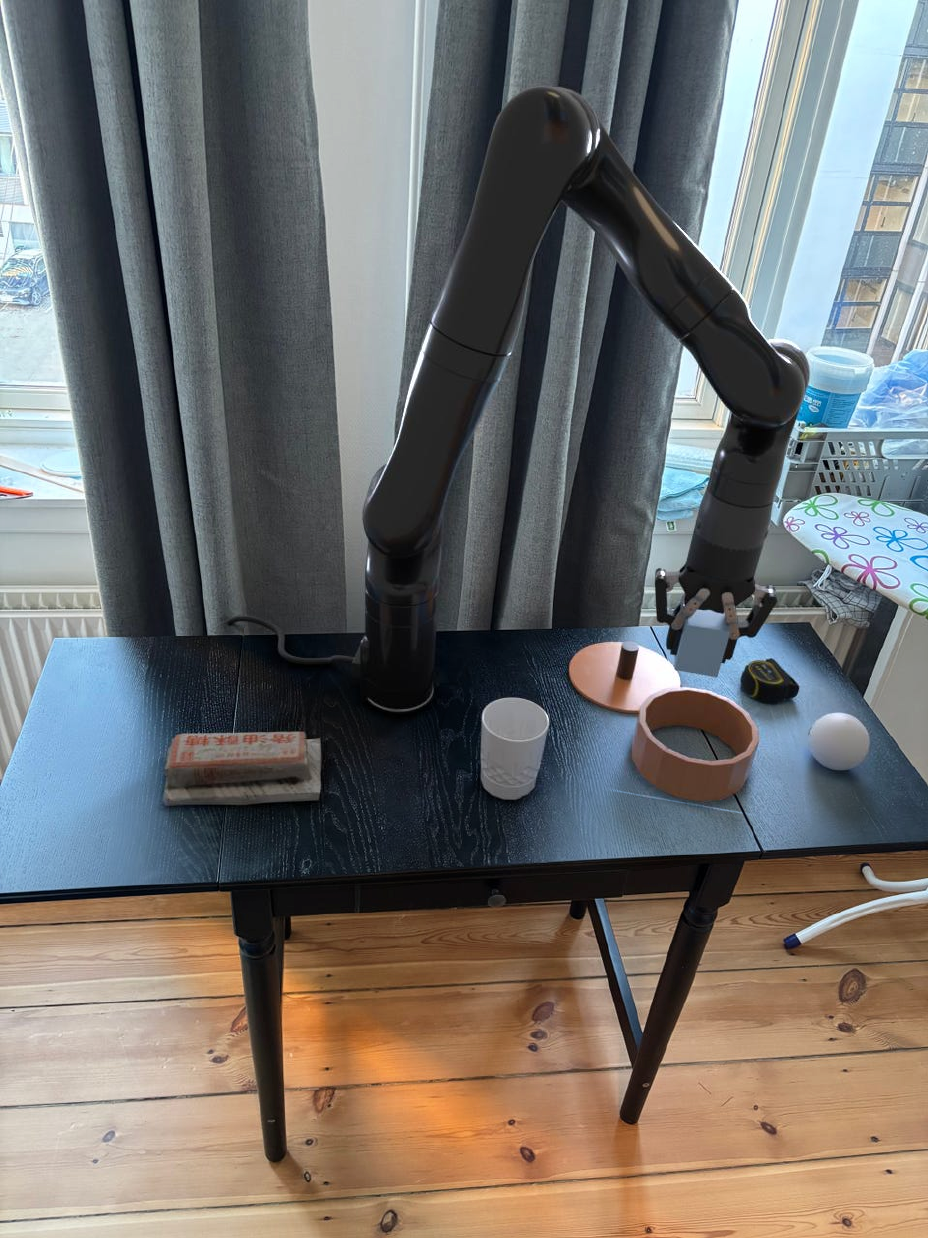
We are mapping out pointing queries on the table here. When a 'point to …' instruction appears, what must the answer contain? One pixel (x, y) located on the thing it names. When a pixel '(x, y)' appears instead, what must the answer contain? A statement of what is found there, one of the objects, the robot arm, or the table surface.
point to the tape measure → (768, 682)
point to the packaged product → (242, 768)
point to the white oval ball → (838, 741)
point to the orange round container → (690, 773)
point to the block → (702, 643)
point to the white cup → (512, 746)
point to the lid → (621, 675)
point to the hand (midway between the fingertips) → (696, 654)
